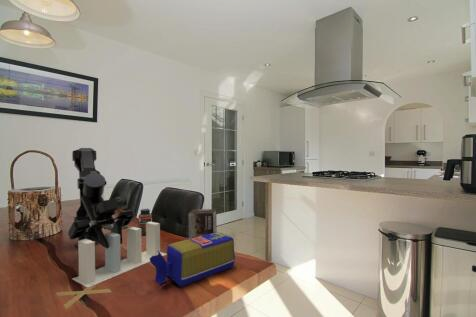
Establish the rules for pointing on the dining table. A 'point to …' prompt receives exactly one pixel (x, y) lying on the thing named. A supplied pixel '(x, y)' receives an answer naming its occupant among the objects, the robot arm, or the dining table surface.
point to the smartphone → (111, 227)
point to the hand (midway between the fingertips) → (114, 245)
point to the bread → (195, 258)
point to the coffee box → (202, 222)
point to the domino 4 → (152, 238)
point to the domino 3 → (134, 245)
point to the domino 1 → (86, 260)
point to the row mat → (104, 274)
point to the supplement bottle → (144, 220)
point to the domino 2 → (113, 253)
